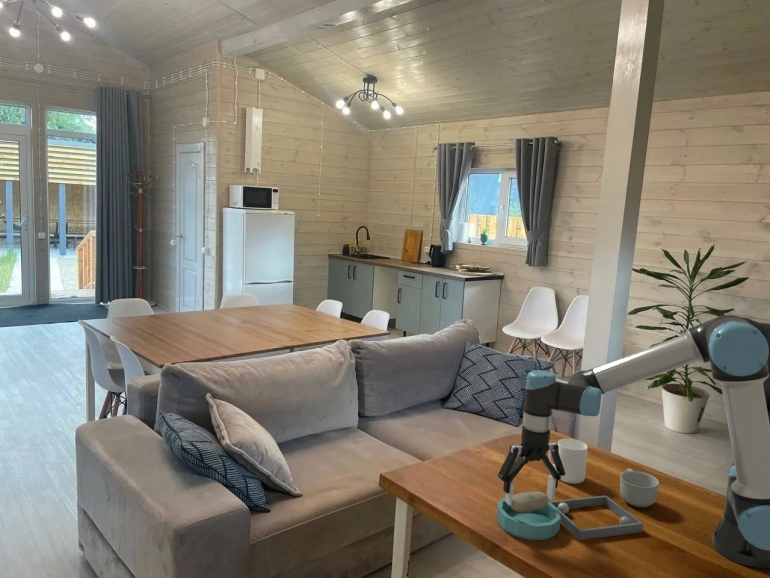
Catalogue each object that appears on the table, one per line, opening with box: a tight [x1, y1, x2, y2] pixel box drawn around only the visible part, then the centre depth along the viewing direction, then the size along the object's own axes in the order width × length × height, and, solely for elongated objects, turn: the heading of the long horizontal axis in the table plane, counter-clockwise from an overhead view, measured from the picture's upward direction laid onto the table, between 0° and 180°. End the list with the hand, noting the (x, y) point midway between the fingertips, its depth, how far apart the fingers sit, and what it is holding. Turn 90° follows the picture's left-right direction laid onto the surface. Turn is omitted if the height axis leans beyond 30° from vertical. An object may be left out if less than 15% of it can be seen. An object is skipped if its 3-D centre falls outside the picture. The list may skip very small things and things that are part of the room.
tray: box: [548, 495, 644, 541], centre depth 168 cm, size 16×20×2 cm
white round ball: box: [558, 503, 570, 515], centre depth 171 cm, size 3×3×3 cm
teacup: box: [619, 468, 660, 509], centre depth 181 cm, size 14×11×8 cm
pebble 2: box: [618, 516, 631, 525], centre depth 165 cm, size 3×3×3 cm
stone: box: [511, 491, 550, 513], centre depth 163 cm, size 6×6×12 cm
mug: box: [547, 438, 589, 485], centre depth 194 cm, size 10×12×12 cm
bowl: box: [496, 494, 561, 541], centre depth 164 cm, size 17×17×4 cm
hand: (529, 501), depth 163 cm, fingers closed on stone, 12 cm apart
